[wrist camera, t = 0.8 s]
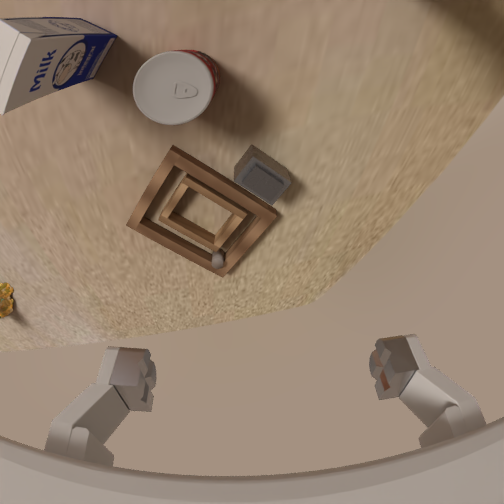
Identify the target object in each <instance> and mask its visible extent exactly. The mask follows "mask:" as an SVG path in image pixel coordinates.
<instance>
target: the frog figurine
mask: <svg viewBox="0 0 504 504" xmlns="http://www.w3.org/2000/svg"><path fill="white" fill-rule="evenodd" d="M12 293H13V288H12V287H11V286H10V285H9V284H8V283H4V284H3V283H0V318H1V317H5V316H8V315H9V313H11V312H12V311H13V305H12V304H14V303H13V302H14V301H13V299H11V297H10V294H12Z"/></svg>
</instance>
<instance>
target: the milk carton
mask: <svg viewBox="0 0 504 504" xmlns="http://www.w3.org/2000/svg"><path fill="white" fill-rule="evenodd" d="M116 37H117V35H115V34H113V33H111V32H109V31H107V30H105V29H103V28H100V27H98V26H96V25H94V24H92V23H90V22H88V21H85V20H83V19H81V18H64V17H19V18H2V19H1V18H0V114H2V115H4V114H5V113H7V112H9V111H11V110H13V109H15V108H18V107H20V106H22V105H24V104H26V103H29V102H31V101H33V100H36V99H38V98H41V97H43V96H46V95H48V94H51V93H53V92H56V91H59V90H61V89H64V88H67V87H69V86H72V85H75V84H78V83H81V82H84V81H87V80H90V79H93V78H94V76H95V74H96V72H97V70H98V69H99V67H100V65H101V63H102V61H103V59H104V58H105V56H106V54H107V52H108V51H109V49H110V47H111V45H112V44H113V42H114V40H115V39H116Z"/></svg>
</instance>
